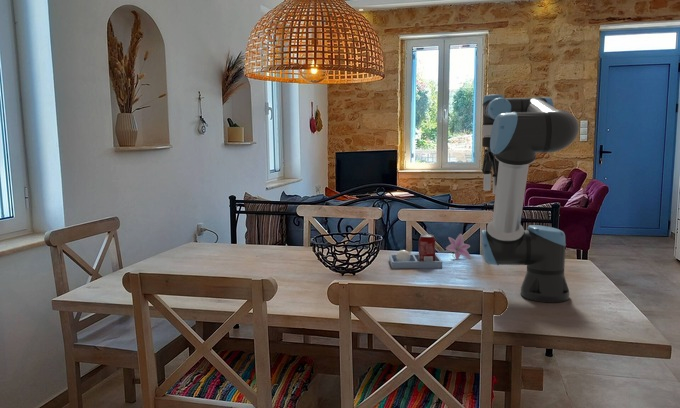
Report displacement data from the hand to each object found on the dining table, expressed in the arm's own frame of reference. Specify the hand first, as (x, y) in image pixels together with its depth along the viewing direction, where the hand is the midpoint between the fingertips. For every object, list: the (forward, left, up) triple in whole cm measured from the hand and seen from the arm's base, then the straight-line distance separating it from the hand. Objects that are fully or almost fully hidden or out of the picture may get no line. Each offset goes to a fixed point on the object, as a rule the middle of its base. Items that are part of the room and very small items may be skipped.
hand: (491, 192), depth 201 cm
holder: (+15, +27, -32) cm, 44 cm away
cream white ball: (+15, +32, -31) cm, 47 cm away
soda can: (+14, +22, -31) cm, 41 cm away
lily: (+27, +7, -32) cm, 43 cm away
